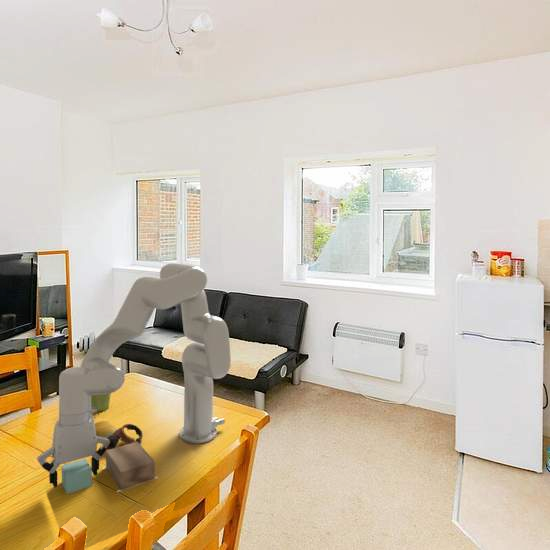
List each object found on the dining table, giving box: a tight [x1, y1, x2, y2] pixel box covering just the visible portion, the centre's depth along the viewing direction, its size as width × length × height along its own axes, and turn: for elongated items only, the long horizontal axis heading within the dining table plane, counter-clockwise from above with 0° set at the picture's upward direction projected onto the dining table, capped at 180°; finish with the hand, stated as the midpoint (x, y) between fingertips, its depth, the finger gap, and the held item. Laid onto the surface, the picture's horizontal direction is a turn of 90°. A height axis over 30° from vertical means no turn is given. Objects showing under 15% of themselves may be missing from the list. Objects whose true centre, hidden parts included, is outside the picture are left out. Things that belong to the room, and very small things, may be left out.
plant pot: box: [91, 393, 112, 413], centre depth 157 cm, size 9×9×9 cm
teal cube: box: [60, 458, 93, 495], centre depth 109 cm, size 6×6×6 cm
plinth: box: [105, 441, 156, 491], centre depth 114 cm, size 9×13×5 cm
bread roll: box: [94, 420, 117, 438], centre depth 138 cm, size 8×9×4 cm
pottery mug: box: [106, 423, 143, 450], centre depth 129 cm, size 12×10×8 cm
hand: (74, 478), depth 108 cm, fingers open, 9 cm apart
